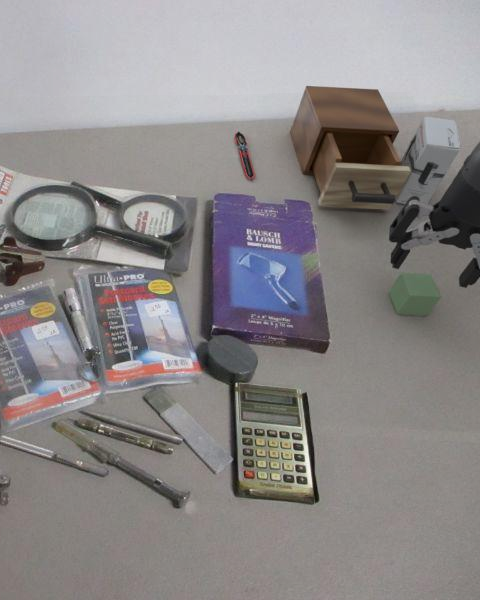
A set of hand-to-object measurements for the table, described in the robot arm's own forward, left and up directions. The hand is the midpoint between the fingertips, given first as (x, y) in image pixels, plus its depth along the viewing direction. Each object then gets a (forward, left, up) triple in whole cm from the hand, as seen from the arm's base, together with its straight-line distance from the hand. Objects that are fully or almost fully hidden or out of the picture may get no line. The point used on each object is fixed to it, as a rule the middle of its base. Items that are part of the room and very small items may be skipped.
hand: (428, 273), depth 80 cm
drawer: (+3, -23, -6) cm, 24 cm away
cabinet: (+3, -35, -7) cm, 36 cm away
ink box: (-8, -26, -7) cm, 28 cm away
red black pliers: (+19, -33, -7) cm, 39 cm away
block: (0, 0, -7) cm, 7 cm away
